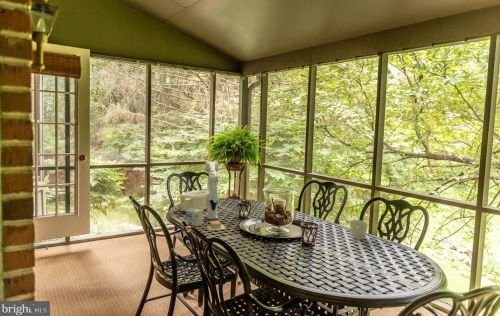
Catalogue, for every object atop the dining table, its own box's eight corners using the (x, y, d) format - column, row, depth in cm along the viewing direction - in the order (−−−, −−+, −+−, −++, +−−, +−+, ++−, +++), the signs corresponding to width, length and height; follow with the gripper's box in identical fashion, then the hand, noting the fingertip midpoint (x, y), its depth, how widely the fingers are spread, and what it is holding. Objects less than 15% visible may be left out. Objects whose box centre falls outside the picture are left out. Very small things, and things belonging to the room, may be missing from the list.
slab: (210, 221, 252) (212, 224, 245) (218, 220, 253) (220, 223, 247) (210, 225, 252) (212, 228, 245) (218, 224, 254) (220, 227, 247)
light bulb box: (186, 224, 255) (185, 210, 254) (190, 222, 261) (190, 208, 260) (198, 226, 251) (198, 211, 250) (203, 223, 257) (203, 209, 256)
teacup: (347, 241, 220) (347, 225, 219) (349, 234, 234) (349, 219, 233) (367, 243, 216) (368, 227, 215) (368, 236, 230) (368, 221, 229)
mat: (206, 226, 250) (206, 226, 250) (222, 225, 254) (222, 224, 254) (209, 230, 241) (209, 230, 240) (226, 229, 244) (226, 228, 244)
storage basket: (198, 205, 314) (197, 189, 312) (212, 207, 305) (212, 191, 303) (179, 211, 293) (179, 193, 292) (194, 213, 285) (193, 196, 283)
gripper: (205, 190, 259) (206, 208, 261) (209, 194, 246) (209, 213, 247) (215, 189, 261) (215, 207, 263) (219, 193, 248) (219, 212, 249)
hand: (213, 210), depth 255 cm, fingers closed
